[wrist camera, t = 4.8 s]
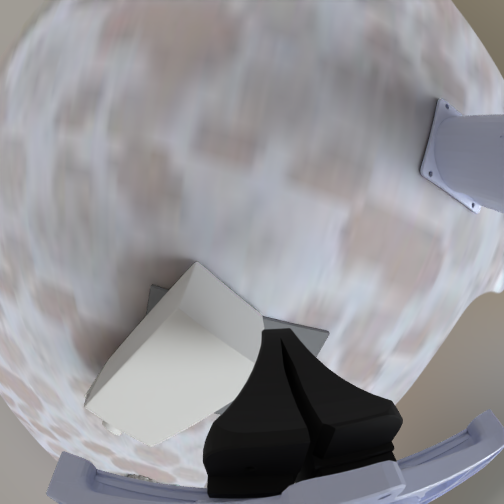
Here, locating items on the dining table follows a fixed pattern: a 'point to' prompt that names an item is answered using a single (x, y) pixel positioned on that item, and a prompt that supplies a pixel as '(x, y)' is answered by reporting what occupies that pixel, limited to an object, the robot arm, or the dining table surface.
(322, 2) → the dining table surface
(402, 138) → the dining table surface
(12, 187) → the dining table surface
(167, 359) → the milk carton
